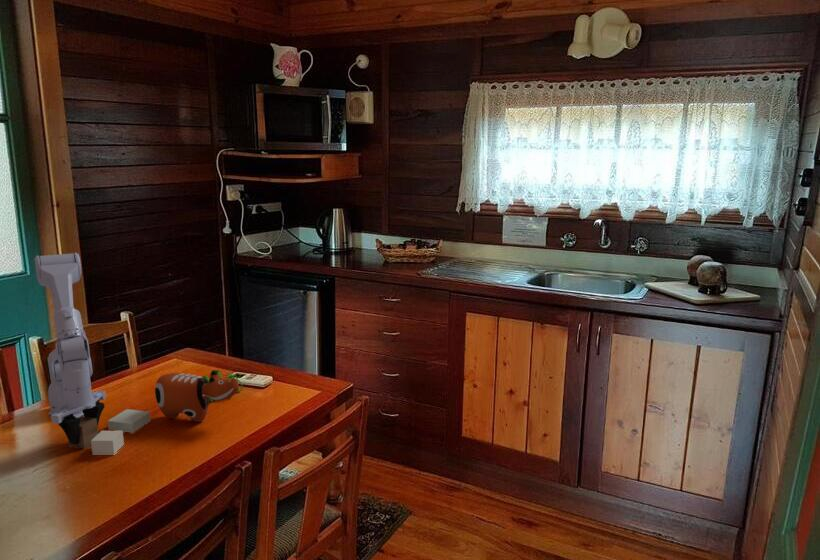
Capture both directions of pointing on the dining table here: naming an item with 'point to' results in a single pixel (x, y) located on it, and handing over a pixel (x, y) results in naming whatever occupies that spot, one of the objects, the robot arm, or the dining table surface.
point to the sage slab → (129, 420)
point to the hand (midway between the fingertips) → (83, 437)
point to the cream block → (107, 442)
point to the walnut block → (86, 432)
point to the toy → (191, 393)
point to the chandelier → (222, 376)
